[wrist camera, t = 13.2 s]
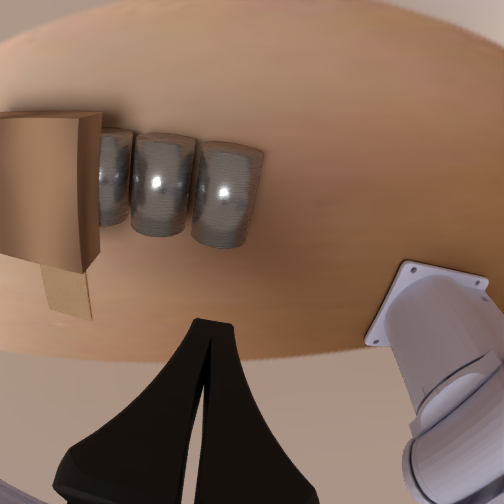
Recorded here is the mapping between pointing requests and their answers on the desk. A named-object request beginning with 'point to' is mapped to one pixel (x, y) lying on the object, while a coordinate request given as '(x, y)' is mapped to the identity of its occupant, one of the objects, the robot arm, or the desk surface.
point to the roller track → (165, 198)
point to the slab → (50, 187)
